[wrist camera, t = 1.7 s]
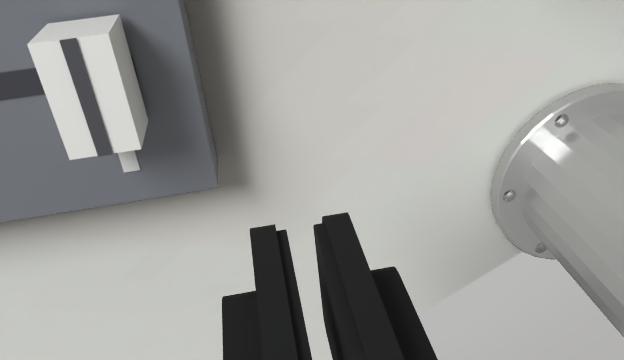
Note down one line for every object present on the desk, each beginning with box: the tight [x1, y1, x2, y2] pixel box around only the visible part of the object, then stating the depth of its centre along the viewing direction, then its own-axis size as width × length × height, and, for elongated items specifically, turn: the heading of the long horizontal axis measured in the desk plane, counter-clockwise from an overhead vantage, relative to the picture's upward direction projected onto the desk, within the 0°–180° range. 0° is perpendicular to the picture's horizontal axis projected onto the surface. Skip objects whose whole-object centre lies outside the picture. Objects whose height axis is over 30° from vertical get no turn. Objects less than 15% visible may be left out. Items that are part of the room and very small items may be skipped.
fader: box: [27, 14, 148, 160], centre depth 23 cm, size 3×5×3 cm, turn 6°
